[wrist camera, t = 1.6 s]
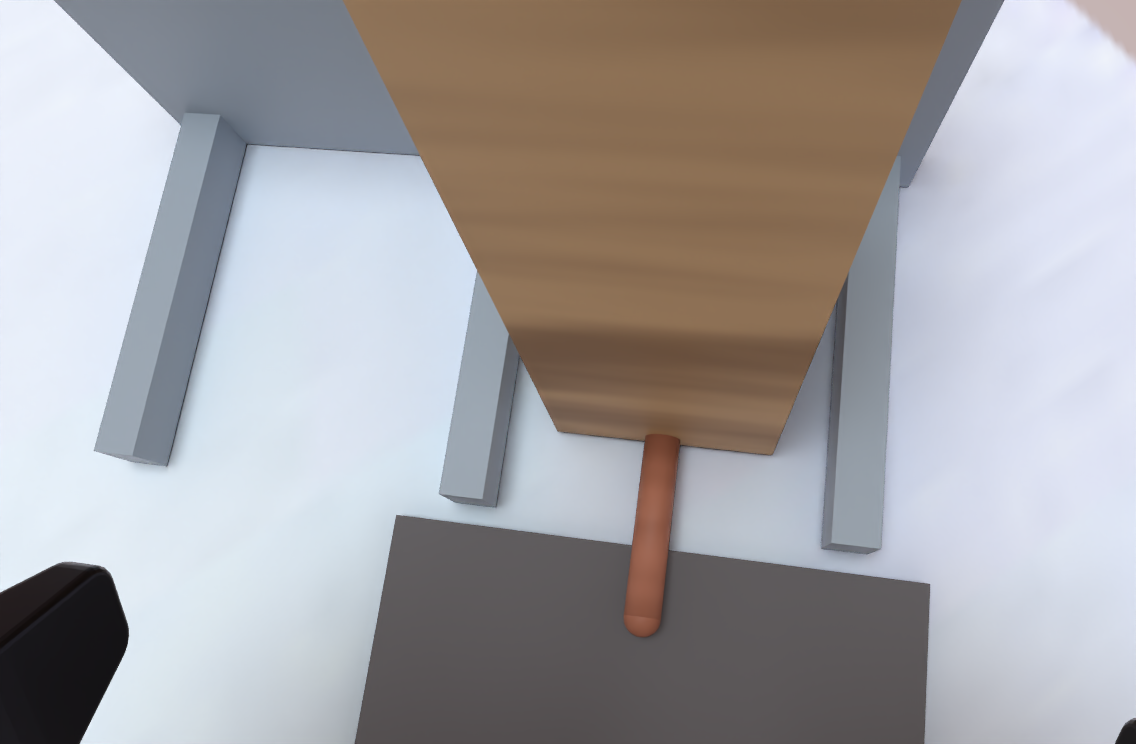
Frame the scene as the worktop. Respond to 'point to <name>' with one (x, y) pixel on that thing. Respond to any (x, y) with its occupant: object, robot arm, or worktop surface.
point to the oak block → (659, 198)
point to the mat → (634, 648)
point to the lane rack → (490, 359)
